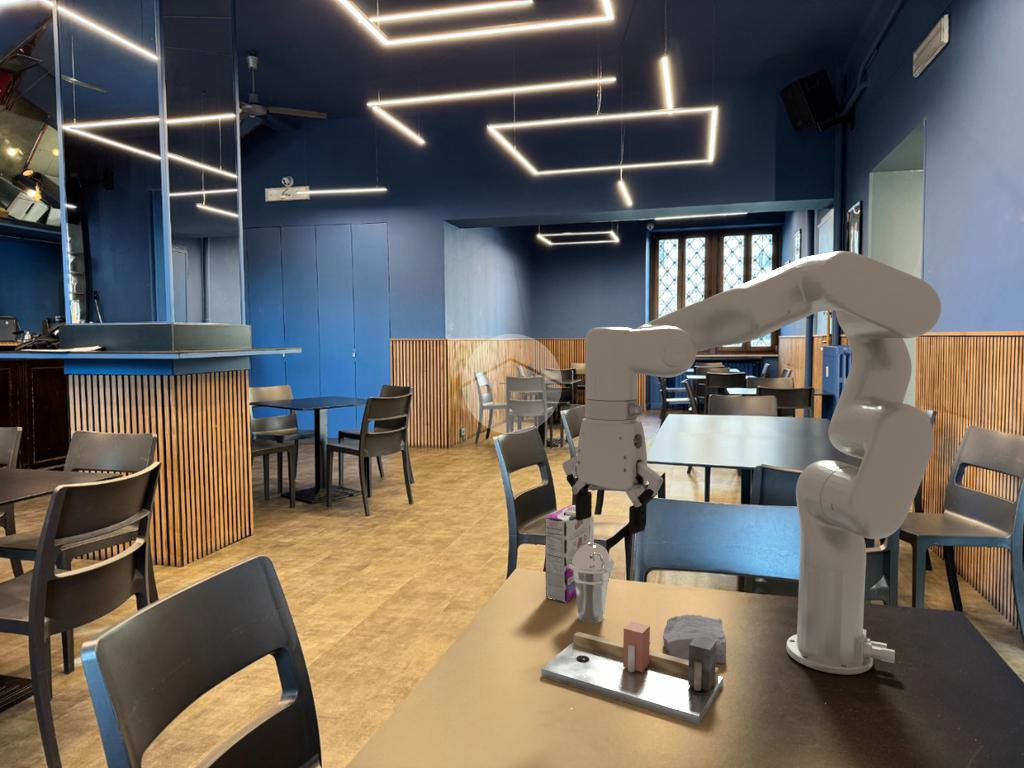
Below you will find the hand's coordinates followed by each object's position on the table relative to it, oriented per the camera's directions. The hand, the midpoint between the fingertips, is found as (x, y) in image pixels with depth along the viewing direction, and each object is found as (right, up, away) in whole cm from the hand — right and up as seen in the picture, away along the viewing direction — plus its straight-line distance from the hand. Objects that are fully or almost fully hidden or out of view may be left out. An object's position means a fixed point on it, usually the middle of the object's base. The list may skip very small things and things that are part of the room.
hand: (609, 525), depth 102 cm
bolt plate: (+3, -23, 0) cm, 24 cm away
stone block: (+16, -23, +12) cm, 30 cm away
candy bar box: (-3, -21, +35) cm, 41 cm away
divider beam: (+5, -22, +2) cm, 23 cm away
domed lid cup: (0, -22, +23) cm, 31 cm away
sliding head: (+4, -22, +2) cm, 22 cm away
